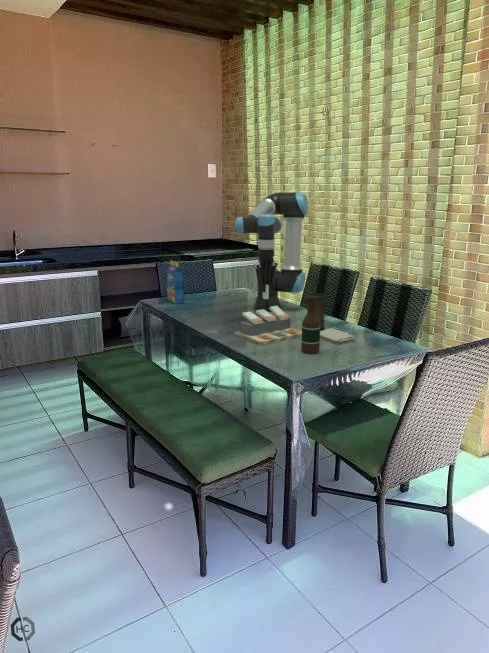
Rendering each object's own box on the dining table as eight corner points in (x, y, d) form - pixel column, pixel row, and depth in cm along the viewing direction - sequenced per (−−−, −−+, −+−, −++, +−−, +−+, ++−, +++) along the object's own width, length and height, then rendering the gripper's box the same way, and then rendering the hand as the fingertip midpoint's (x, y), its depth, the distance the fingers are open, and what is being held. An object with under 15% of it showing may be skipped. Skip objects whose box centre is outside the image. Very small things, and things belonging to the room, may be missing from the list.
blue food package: (175, 304, 297) (173, 262, 291) (167, 300, 307) (165, 260, 301) (184, 303, 300) (183, 262, 294) (176, 299, 310) (175, 259, 304)
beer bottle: (299, 348, 214) (301, 294, 208) (317, 348, 215) (319, 293, 209) (303, 354, 207) (304, 298, 200) (321, 354, 207) (323, 297, 201)
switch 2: (275, 309, 245) (277, 305, 244) (287, 320, 239) (289, 316, 238) (268, 310, 243) (269, 306, 241) (280, 322, 237) (282, 317, 235)
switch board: (280, 325, 250) (280, 322, 250) (307, 334, 235) (307, 331, 234) (234, 335, 235) (234, 331, 234) (260, 345, 219) (260, 341, 218)
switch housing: (279, 324, 247) (280, 314, 246) (290, 327, 241) (290, 317, 240) (240, 332, 234) (240, 322, 232) (250, 336, 227) (250, 325, 226)
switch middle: (262, 313, 241) (263, 308, 240) (275, 322, 234) (276, 317, 233) (255, 314, 238) (256, 309, 237) (268, 323, 231) (269, 318, 230)
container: (313, 334, 236) (314, 297, 231) (302, 329, 244) (303, 293, 239) (328, 331, 240) (330, 295, 235) (317, 327, 248) (318, 291, 243)
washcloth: (337, 346, 219) (338, 339, 218) (310, 336, 234) (310, 330, 233) (356, 341, 226) (357, 335, 225) (329, 332, 240) (329, 326, 239)
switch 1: (249, 315, 236) (250, 310, 235) (262, 324, 229) (262, 319, 228) (242, 316, 234) (242, 312, 233) (254, 326, 227) (255, 321, 226)
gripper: (271, 246, 237) (270, 295, 243) (249, 248, 229) (249, 298, 235) (282, 248, 231) (281, 298, 237) (260, 250, 223) (259, 301, 230)
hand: (265, 298), depth 236 cm, fingers closed
